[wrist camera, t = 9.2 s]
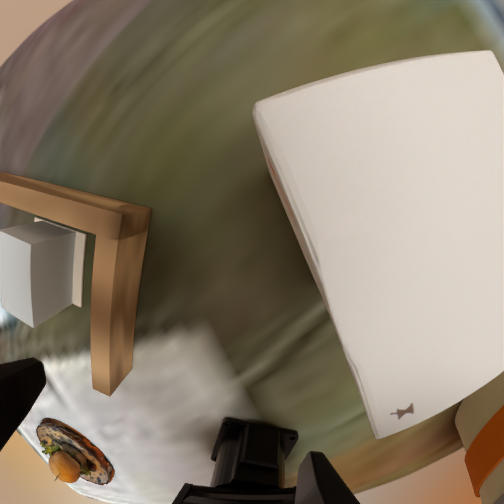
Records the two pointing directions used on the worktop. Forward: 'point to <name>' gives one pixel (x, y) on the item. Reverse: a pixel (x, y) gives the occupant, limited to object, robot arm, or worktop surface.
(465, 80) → the small box
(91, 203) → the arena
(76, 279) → the pad
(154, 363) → the worktop surface
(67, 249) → the block
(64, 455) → the burger
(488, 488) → the reusable coffee cup
